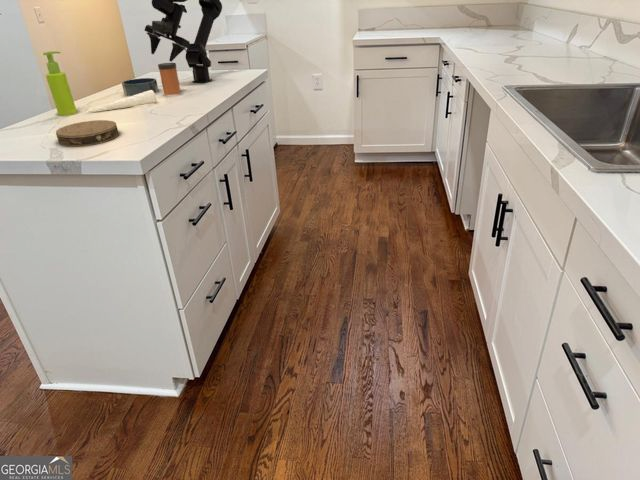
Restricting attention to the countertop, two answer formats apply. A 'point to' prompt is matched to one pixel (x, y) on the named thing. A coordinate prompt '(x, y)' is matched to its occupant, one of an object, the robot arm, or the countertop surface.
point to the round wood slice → (87, 133)
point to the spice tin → (169, 78)
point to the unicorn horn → (129, 102)
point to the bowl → (139, 86)
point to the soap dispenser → (59, 87)
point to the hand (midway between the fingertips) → (161, 57)
